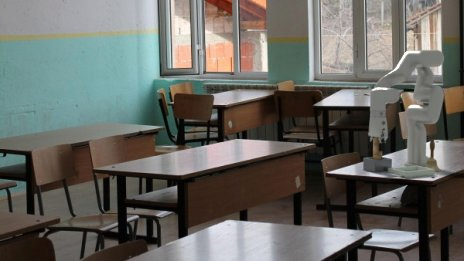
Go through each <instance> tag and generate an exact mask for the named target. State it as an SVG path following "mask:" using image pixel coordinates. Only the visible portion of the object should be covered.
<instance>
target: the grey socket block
mask: <svg viewBox="0 0 464 261" xmlns="http://www.w3.org/2000/svg"><path fill="white" fill-rule="evenodd" d="M362 160H363V164H362V166H363V168H362V169H363V171H366V172H371V173H385V172H387V173H389V172H388V168H393V158H390V157H389V158H388V157H384V156H382V159H380V160H374V159H373V156H371V157H370V156H369V157H363V158H362Z"/></svg>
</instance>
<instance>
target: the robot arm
mask: <svg viewBox="0 0 464 261" xmlns="http://www.w3.org/2000/svg"><path fill="white" fill-rule="evenodd" d="M444 62H445V56H444V53H443V52H442V51H441V50H438V49H419V50H418V49H417V50H416V49H415V50H411V49H410V50H407V51H406V52H404V53H403V55H402V56H401V58H400V59H399V61H398V63H397V64H396V66H395V67H394V69H393V70H392V71H389V72H388V73H387V74H385V75H384V76H382V77H381V78H380V79H379V80H377V82H376V84H375V85H374V87H373V88H372V89H370V94H369V95H370V96H369V105H370V106H369V112H370V114H369V116H370V117H369V125H368V132H367V135H368V138H369V142H370V150H372V151H373V138H379V142H380V143H379V151H382V152H385V150H386V142H387V139H388V138H389V135H388V134H389V133H388V132H389V131H388V121H387V117H386V116H387V115H386V113H387V112H386V111H387V109H386V108H387V106H386V105H387V104H395V103H397V102H399V100H400V98H401V95H400V92H399V90H398V89H396V88H393V86H396V85H399V84H403V83H404V82H407V81H408V80H409V78H410V77H411V75H412V74H413V73H414V71H415V69H416V74H417V77H416V81H415V84H414V85H415V86H414V89H413V90H414V91H413V95H412V97H413V100H414V102H416V103H419V104H415V103H414V104H410V105H409V106H407V108H406V110H405V118H406V124H407V143H406V146H407V147H406V148H407V149H406V150H407V151H406V152H407V154H406V156H407V158H406V161H404V163H403V165H404V166H405V167H406V166H421V167H426V165H427V160H429V159H430V156H427V129H426V127H425V125H434V124H436V123H437V122H438V121H439V119H440V114H441V111H442V108H443V103H444V98H445V93H444V89H443V87H441V86H440V85H437V84H434V82H435V81H434V80H435V75H434V73H433V71H432V68H436V67H437V68H438V67H441V66H442V65H443V63H444ZM381 138H382V140H381Z"/></svg>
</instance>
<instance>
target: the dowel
mask: <svg viewBox="0 0 464 261" xmlns="http://www.w3.org/2000/svg"><path fill="white" fill-rule="evenodd" d="M382 139H383V138H381V140H382ZM379 143H380V142H379V138H378V137H377V138H373V150H372V157H373V159H374V160H380V159H382V157H383V151H379Z"/></svg>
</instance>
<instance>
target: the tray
mask: <svg viewBox="0 0 464 261" xmlns="http://www.w3.org/2000/svg"><path fill="white" fill-rule="evenodd" d="M387 173H390V174H394V175H399V176H398V177H399V178H403V179H411V178H412V177H413V178H422V177H434V176H435V175H436V174H435V173H436V172H435V169H430V168H426V166H424V167H421V166H406V165H405V166H397V167H395V166H394V167H392V168H388V172H387ZM433 175H434V176H433ZM413 178H412V179H413Z"/></svg>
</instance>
